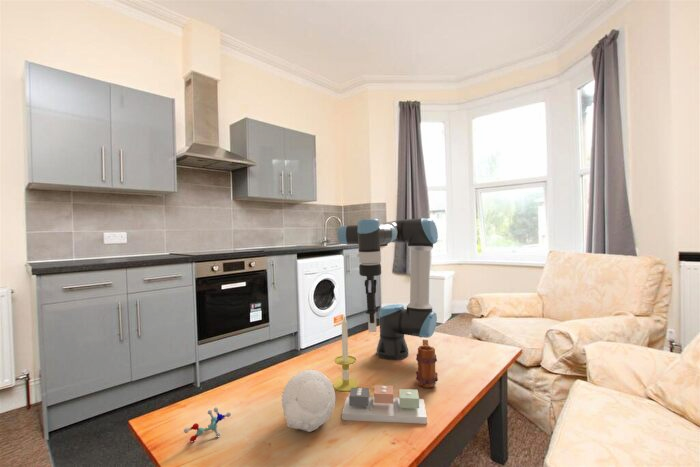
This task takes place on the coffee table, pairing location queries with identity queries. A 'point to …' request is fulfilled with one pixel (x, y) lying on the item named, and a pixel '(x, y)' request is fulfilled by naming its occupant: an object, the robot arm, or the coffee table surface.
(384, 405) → the board
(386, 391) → the tile terracotta
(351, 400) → the tile charcoal
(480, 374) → the coffee table surface
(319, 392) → the white rounded lump
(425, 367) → the mug
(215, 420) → the molecular model
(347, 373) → the candle
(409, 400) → the tile sage
